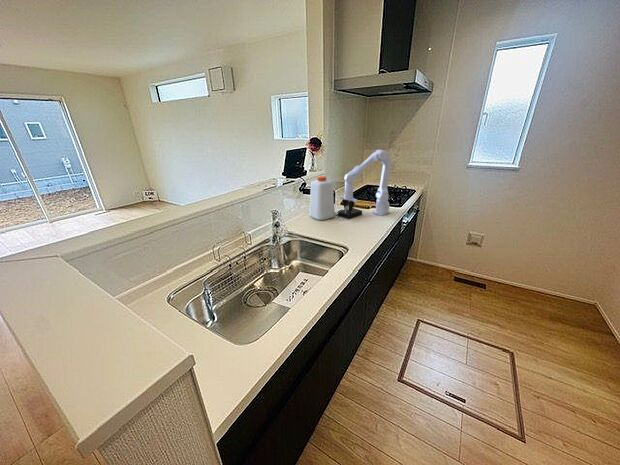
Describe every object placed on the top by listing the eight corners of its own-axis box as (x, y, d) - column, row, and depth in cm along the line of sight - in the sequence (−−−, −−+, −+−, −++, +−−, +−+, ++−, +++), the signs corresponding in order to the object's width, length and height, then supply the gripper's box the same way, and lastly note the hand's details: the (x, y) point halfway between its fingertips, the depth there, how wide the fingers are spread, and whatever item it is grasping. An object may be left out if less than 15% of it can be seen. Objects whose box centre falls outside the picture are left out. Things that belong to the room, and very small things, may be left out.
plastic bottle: (337, 217, 177) (337, 177, 165) (319, 221, 169) (319, 180, 158) (324, 211, 188) (323, 174, 177) (307, 215, 180) (306, 176, 169)
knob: (344, 210, 179) (344, 205, 177) (348, 209, 181) (348, 203, 180) (348, 212, 176) (348, 206, 174) (352, 211, 178) (352, 205, 177)
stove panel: (351, 211, 187) (351, 207, 186) (361, 214, 180) (362, 210, 179) (337, 215, 180) (338, 211, 178) (348, 219, 172) (348, 214, 171)
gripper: (337, 190, 176) (337, 209, 182) (352, 194, 166) (351, 213, 171) (344, 188, 180) (344, 207, 186) (359, 192, 170) (358, 211, 175)
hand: (348, 210), depth 179 cm, fingers closed on knob, 4 cm apart
